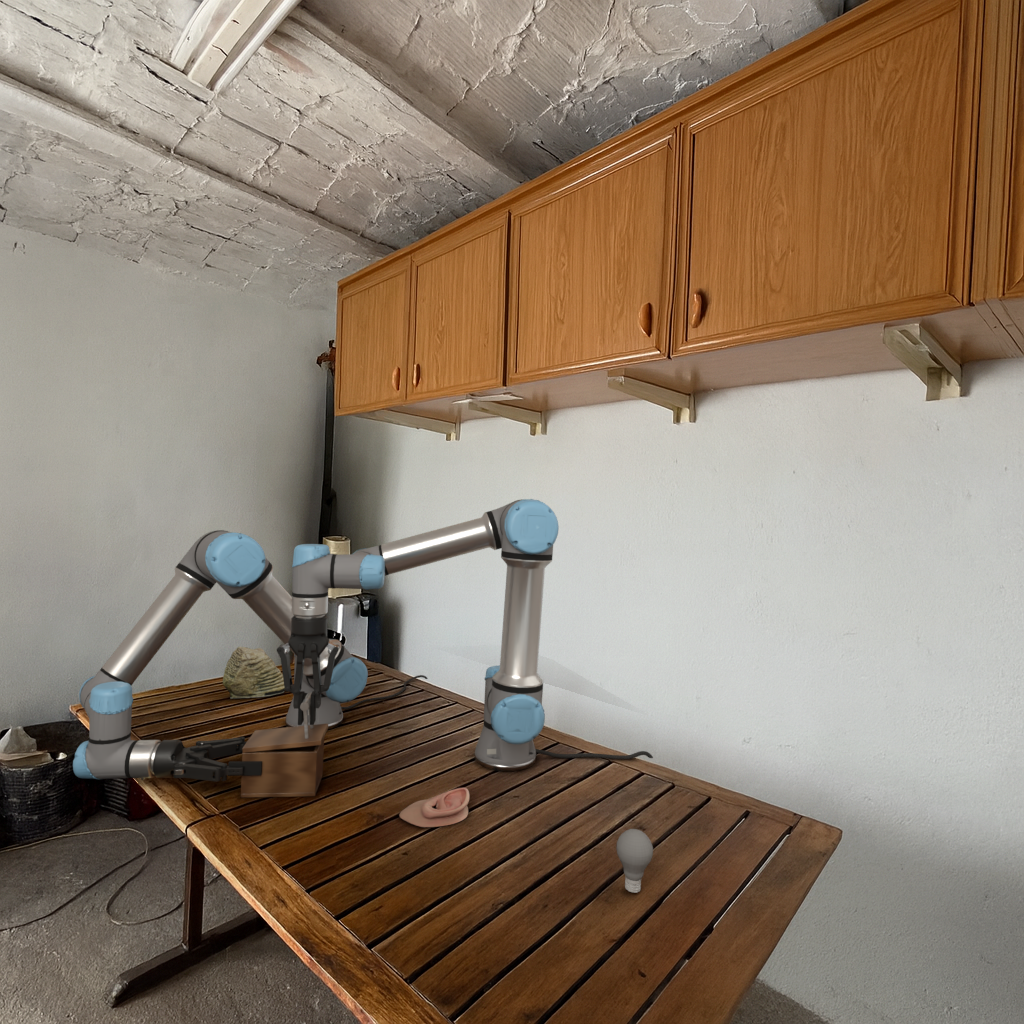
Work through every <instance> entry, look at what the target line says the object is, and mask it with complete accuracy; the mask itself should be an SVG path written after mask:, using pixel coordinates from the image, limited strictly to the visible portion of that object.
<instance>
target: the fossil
mask: <svg viewBox="0 0 1024 1024" xmlns="http://www.w3.org/2000/svg"><path fill="white" fill-rule="evenodd" d="M222 676H223V677H222V685H223V687H224V688H225V690H226V691H228V693H229V698H230V699H250V698H264V697H271V696H275V695H281V694H284V693H285V692H286V691H285V688H284V680H283V672H281V669H279V668H278V667H277V665H276V663H275V662H274V660H273V659H272V658H271V657H270V656H269V655H268V654H267V653H266V652H265V650H264V649H263V648H260V647H258V648H251V647H247V646H246V647H245V646H238V647H237V648H236V649H235V650H233V651H232V653H231V656H230V657H229V659H228V660H227V663H226V666H225V668H224V671H223V675H222Z"/></svg>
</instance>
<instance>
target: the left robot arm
mask: <svg viewBox="0 0 1024 1024" xmlns="http://www.w3.org/2000/svg"><path fill="white" fill-rule="evenodd" d="M273 571H274V566H273V564H272V563H271V562H270V561H269V559H267V557H266V554H265V551H264V549H263V547H262V545H260V543H259V542H258V541H257V540H256V539H254V538H253V537H251V536H249V535H247V534H245V533H241V532H233V531H228V530H223V529H217V530H212V531H208V532H207V533H205V534H203V535H202V536H200V537H199V538H198V539H197V540H196V541H194V543H193V544H192V545H191V546H190V548H189V549H188V550H187V552H186V553H185V554H184V556H183V557H182V558H181V560H180V561H179V562H178V564H177V565H176V566H175V567H174V576H173V577H171V579H170V581H168V583H167V584H166V585H165V587H164V589H163V590H162V591H161V592H160V593H159V594H158V596H157V597H156V598H155V600H154V601H153V602H152V603H151V604H150V606H149V607H148V609H147V610H146V611H145V612H144V613H143V614H142V616H141V617H140V619H139V620H138V621H137V622H136V623H135V625H134V626H133V628H132V629H131V630H130V631H129V633H128V634H127V635H126V636H125V637H124V639H123V640H122V641H121V643H120V644H119V645H118V647H116V649H115V651H113V653H112V654H111V656H110V657H109V658H108V659H107V660H106V661H105V663H104V664H103V665H102V667H101V668H100V669H99V670H98V671H97V672H96V673H95V675H93V676H91V677H89V678H88V679H86V680H85V681H84V682H83V683H82V684H81V685H80V687H79V691H78V699H79V703H80V705H81V707H82V708H83V709H84V710H85V711H84V712H85V713H86V715H87V717H88V721H89V722H88V723H89V724H88V734H89V735H88V740H85V741H83V742H81V743H80V744H79V746H78V747H77V749H76V751H75V753H74V758H73V760H72V770H73V773H74V775H75V776H76V777H77V778H79V779H86V780H87V779H89V780H97V781H100V780H112V779H115V780H117V779H140V780H142V781H144V780H146V779H152V778H155V777H156V779H172V778H173V779H192V780H199V781H200V780H201V781H208V782H216V783H217V782H218V783H219V782H226V781H227V780H228V777H242V776H257V775H261V774H262V761H242V760H238V761H237V760H235V761H231V760H230V761H229V762H228V764H227V763H226V762H222V761H217V760H215V759H218V758H223V757H228V756H233V755H237V754H242V753H243V750H242V748H243V747H244V745H245V744H246V743H247V741H248V740H247V741H246V740H245V739H246V738H245V736H240V737H233V738H231V737H230V738H221V739H211V740H197V741H196V742H195V745H191V746H189V747H186V746H184V743H183V741H182V740H180V739H164V740H162V741H161V740H160V739H139V740H138V739H135V740H133V739H132V714H133V703H134V697H133V684H134V683H135V682H136V680H137V679H138V677H139V676H140V675H141V674H142V672H143V671H144V670H145V668H146V667H147V666H148V664H149V663H150V662H151V661H152V660H153V658H154V657H155V656H156V654H157V653H158V652H159V651H160V649H161V648H162V647H163V645H164V643H166V641H167V640H168V639H169V638H170V636H171V635H172V634H173V632H174V631H175V630H176V628H177V627H178V626H179V624H180V623H181V622H182V620H183V619H185V617H186V615H187V614H188V613H189V612H190V611H191V609H192V608H193V607H194V605H195V604H196V602H198V600H199V598H200V597H201V596H202V595H203V594H204V593H205V592H208V591H211V590H212V589H213V588H214V586H215V585H216V584H218V585H219V587H220V588H221V589H222V590H223V591H224V592H225V593H226V594H227V595H228V596H229V597H230V598H231V599H233V600H242V601H243V602H244V603H245V604H246V605H247V606H248V607H249V608H250V609H251V610H252V611H253V612H254V613H255V615H256V616H258V618H260V620H261V621H262V622H263V623H264V624H265V625H266V626H267V627H268V628H269V629H270V630H271V631H272V632H273V634H275V636H276V637H277V638H278V639H279V640H280V641H281V642H282V644H283V645H284V644H286V643H288V641H289V639H290V637H291V618H292V617H293V616H294V615H293V614H292V613H291V612H292V595H290V593H289V592H288V591H287V590H286V589H285V588H284V587H283V585H281V583H280V582H279V581H278V579H276V577H275V576H274V575H273V573H274V572H273ZM329 642H331V643H332V644H334V645H339V646H340V649H339V650H338V652H337V654H336V656H335V662H334V667H333V673H332V678H331V684H330V687H329V689H328V691H324V692H322V693H321V705H320V707H319V708H316V721H315V723H314V725H317V724H328V729H327V731H329V730H332V729H335V728H337V727H339V726H340V725H342V723H343V722H344V714H343V710H349V709H352V708H354V707H357V706H358V705H360V704H364V703H366V702H371V701H379V700H385V699H390V698H394V697H396V696H398V695H401V694H402V693H403V692H404V691H406V689H407V684H408V683H410V682H412V681H414V680H415V679H419V678H423V679H425V680H428V677H427V676H426V675H423V674H418V675H415V676H414V677H411V678H409V679H407V680H406V681H404V683H403V688H402V689H401V690H399V691H398V692H396V693H393V694H390V695H386V696H378V697H377V696H376V697H370V698H365V699H362V700H359V701H357V702H355V703H353V704H351V705H348V706H341V704H344V703H350V702H352V701H354V700H355V699H357V697H359V696H360V695H361V693H363V691H364V689H365V687H366V685H367V682H368V676H369V673H368V672H369V671H368V668H367V665H366V664H365V662H363V661H362V659H360V658H359V657H355V656H354V655H353V654H351V652H350V651H349V650H348V649H347V647H345V646H344V645H343V644H342V642H341V641H340V640H339V639H336V638H329ZM289 649H290V651H291V652H292V654H293V656H294V672H293V683H294V682H295V673H296V665H297V656H296V654H295V653H294V652H293V650H292V649H291V647H290V648H289ZM329 655H330V654H329V653H328V648H327V647H326V648H325V649H324V651H323V652H322V653H321V655H320V671H321V685H323V684H324V679H325V674H326V668H327V663H328V658H329ZM301 688H302V689H301V691H305V693H304V698H305V697H306V695H307V694H308V693H312V692H313V691H314V682H313V667H312V659H310V658H305V661H304V669H303V678H302V686H301ZM292 696H293V697H292V699H291V702H290V704H289V708H288V711H287V713H286V715H285V726H286V727H296V726H304V721H303V723H302V725H298V709H294V707H293V699H294V695H292ZM307 716H308V725H310V721H309V709H308V710H307Z"/></svg>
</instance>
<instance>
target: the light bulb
mask: <svg viewBox="0 0 1024 1024" xmlns="http://www.w3.org/2000/svg"><path fill="white" fill-rule="evenodd" d="M615 849H616V854H617V857H618V859H619V861H620V863H621V865H622V867H623V873H624V874H623V875H624V876H625V878H624V888H625V890H627V891H628V892H630V893H634V894H635V893H639V892H640V891H641V889H642V887H641V886H642V879H643V877H644V875H645V871H646V868H647V867H648V866H649V864H650V863H651V861H652V859H653V855H654V847H653V843H652V841H651V838H649V836H648V835H647V834H646V833H645V832H643V831H642V830H641V829H636V828H629V829H627V830H625V831H623V832H622V833H621V834H620V835H619V837H618V839H617V841H616V847H615Z"/></svg>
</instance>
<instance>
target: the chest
mask: <svg viewBox="0 0 1024 1024" xmlns="http://www.w3.org/2000/svg"><path fill="white" fill-rule="evenodd" d="M324 750H325V738H324V739H323V741H322V744H321V745H316V746H306V747H296V748H285V749H275V750H265V751H255V752H245V753H241V755H242V756H241V761H262V774H261V775H257V776H241V778H240V779H241V780H240V799H241V798H286V797H287V798H289V797H292V798H293V797H294V798H295V797H296V798H297V797H316V794H317V792H318V789H319V786H320V784H321V781H322V779H323V775H324Z"/></svg>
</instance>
